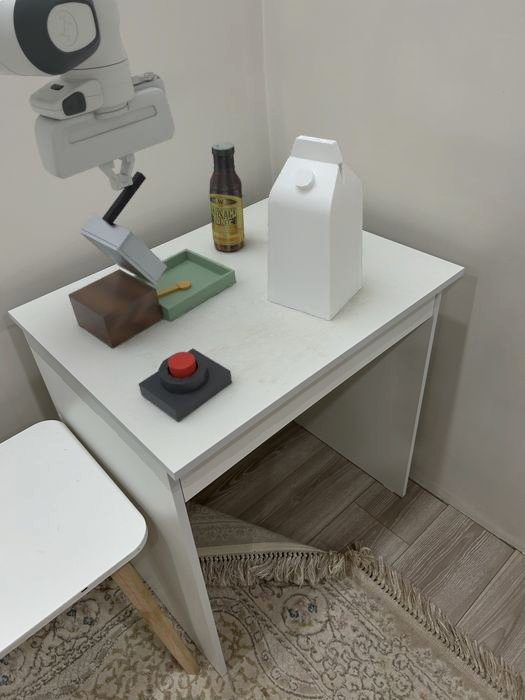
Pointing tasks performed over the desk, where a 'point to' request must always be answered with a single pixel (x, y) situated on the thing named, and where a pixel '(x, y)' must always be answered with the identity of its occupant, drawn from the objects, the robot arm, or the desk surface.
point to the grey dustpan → (123, 238)
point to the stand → (116, 307)
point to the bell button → (182, 364)
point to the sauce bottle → (226, 200)
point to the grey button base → (185, 386)
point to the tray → (199, 272)
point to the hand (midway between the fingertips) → (122, 187)
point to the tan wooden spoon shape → (175, 288)
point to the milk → (315, 230)
